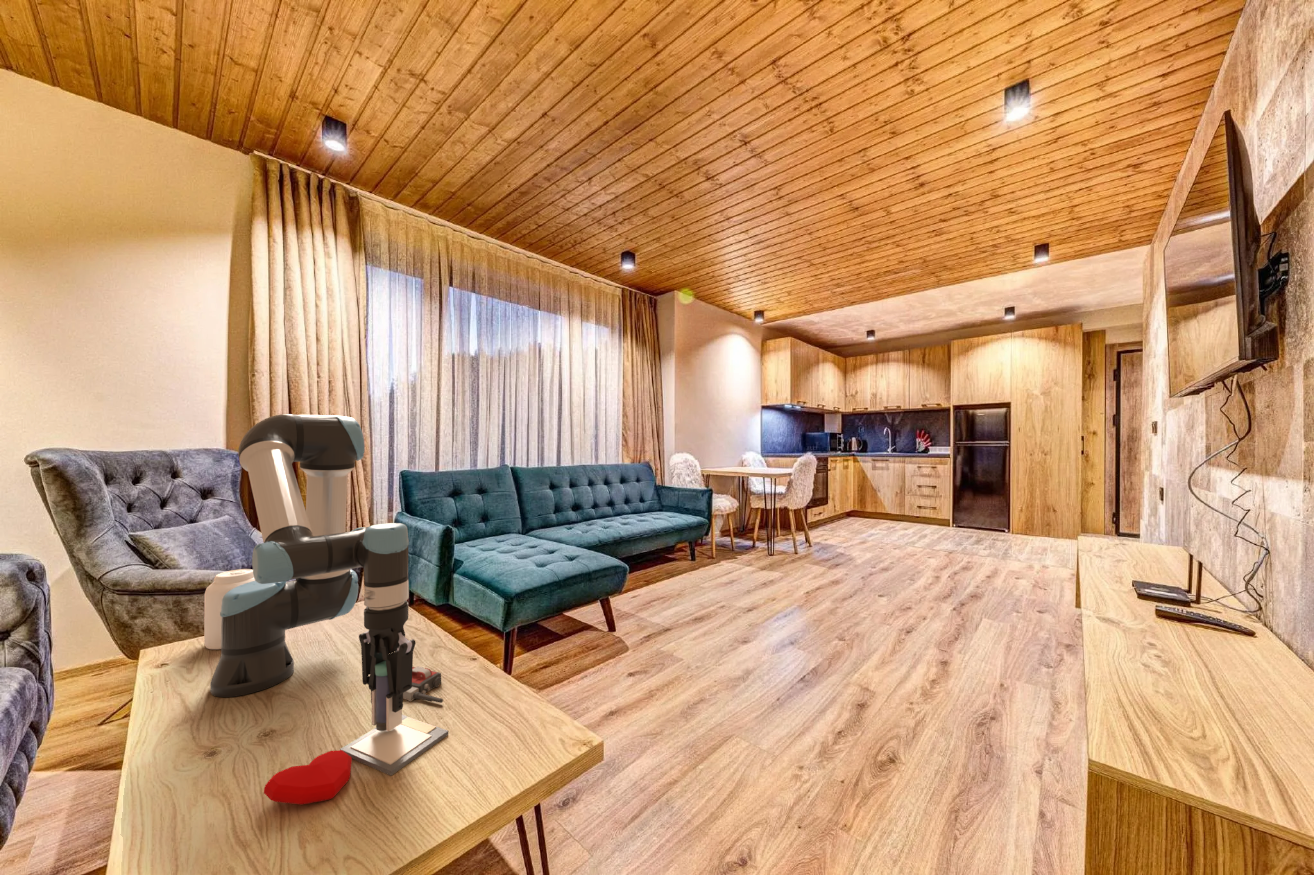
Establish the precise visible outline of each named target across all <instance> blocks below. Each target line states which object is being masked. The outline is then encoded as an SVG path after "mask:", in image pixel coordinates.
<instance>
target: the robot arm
mask: <svg viewBox="0 0 1314 875" xmlns="http://www.w3.org/2000/svg"><path fill="white" fill-rule="evenodd" d="M365 447H366V446H365V439H364V432H363V431H362V428H361V426H360V424H359V422H358V421H357V420H356V419H355V418H354V417H351V416H343V415H334V414H333V415H331V414H329V415H326V414H325V415H324V414H323V415H322V414H321V415H320V414H293V413H292V414H291V413H283V414H276V415H275V414H274V415H271V416H269V417H267V418H264V419H262V420H260V421H258V422H257V423H256V424H254V425H253V426H252V427H250V428H249V429H248V431H247V432H246V433H245V434H244V436H243V437H242V439H241V440H240V442H239V445H238V450H237V451H238V454H237V455H238V460H239V464H240V466H241V468H243V470H245V471H246V472H248V478H249V482H250V487H251V492H252V496H253V500H254V505H255V510H256V515H257V518H258V524H259V527H260V532H261V538H262V543H258V544H256V545H255V546H254V548H253V549H252V550H253V551H252V558H251V559H252V560H251V563H252V564H251V566H252V570H253V575H254V579H255V581H252V582H249V583H245V584H243V585H240V586H238V587H235V588H233V589H232V590H230V591H228V592H227V593H226V594H225V595H224V597H223V599H222V607H221V612H220V616H221V617H222V624H221V649H220V657H219V659H218V662H217V665H216V667H215V669H214V672H213V675H212V678H211V680H210V686H209V687H210V688H209V689H210V690H209V691H210V694H211V695H212V696H214V697H217V698H218V697H219V698H232V697H240V696H246V695H249V694H253V693H257V692H261V691H263V690H266V689H268V688H271V687H274V686H277V685H278V684H280V683H282V682H284V681H286V680H287V679H288V678H290V677H291V676H292V675H293V674H294V671H295V662H294V658H293V656H292V653H291V651H290V649H289V647H288V645H287V642H286V631H287V630H290V629H295V628H299V627H303V626H306V625H307V626H308V625H311V624H316V623H319V622H323V621H327V620H331V621H332V620H334V619H335V618H338V617H341V616H345V615H348V613H350V612H351V611H352V610H353V608H354V607H355V604H356V601H357V599H358V595H359V584H358V582H359V578H358V574H357V573H356V571H355V570H353V569H357V568H363V584H364V585H363V586H364V587H363V588H364V591H363V592H364V594H363V598H364V600H363V601H364V603H363V604H364V606H365V608H364V610H363V626H364V628H365V629H366V630H367V631H365V632H363V633H360V634H359V635H358V639H359V640H358V641H359V643H360V651H361V654H360V655H361V673H362V674H361V675H362V676H361V678H362V680H361V681H362V684H363V685H364V686H365V685H368V689H369V691H370V704H371V726H375V727H376V675H375V665H376V664H378V663H380V662H382V661H386V668H387V676H388V684H389V694H387V695H386V730H387V731H390V730H392V729H393V728H395V727H397V726H398V725H400V724H401V723H402V715H403V709H404V708H403V707H404V699H403V693H404V692H406V691H408V690H409V689H411V688H412V667H414V665H413V663H414V660H413V659H414V650H415V648H416V644H417V642H416V640H415V639H408V638H407V637H406V632H405V629H404V626H405V624H406V622H407V621H408V620H409V601H407V600H408V599H409V598H410V597H409V594H410V593H409V592H410V590H409V588H410V587H409V545H410V539H409V531H408V526H407V525H406V524H404V523H400V522H387V523H386V522H385V523H378V524H373V525H369V526H367V527H365V526H364V527H362V526H361V527H357V528H354V529H353V530H351V531H346V525H347V524H346V522H347V503H348V501H347V500H348V499H347V498H348V497H347V496H348V475H349V473H351V472H352V471H353V470H354V469H355V468H356V462H357V461H361V460H363V458H364V454H365V450H366V448H365ZM295 462H297V463H299V470H301V471H302V472H303V473H305V474H306V493H305V494H306V496H305V498H306V499H305V503H304V501H303V497H302V494H301V490H300V487H299V484H298V480H297V478H296V473H295V471H294V468H293V463H295ZM304 504H305V505H304Z"/></svg>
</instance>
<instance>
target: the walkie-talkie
mask: <svg viewBox="0 0 1314 875" xmlns="http://www.w3.org/2000/svg"><path fill="white" fill-rule="evenodd" d="M441 684H442V672H438V671H433V670H431V669H430V668H427V667H423V666H420V665H419V666H412V688H411V689H409V690H408V691H406V692H404V693H403V700H406V701H407V700H408V701H409V702H412V701H414V700H422V701H426V702H429V703H430V702H436V703H441V704H442V703H443V702H444V699H443V698H441V697H436V696H432V695H429V694H427V693H428V692H430V691H431V690H432V689H434V688H439V686H440V685H441Z"/></svg>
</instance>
